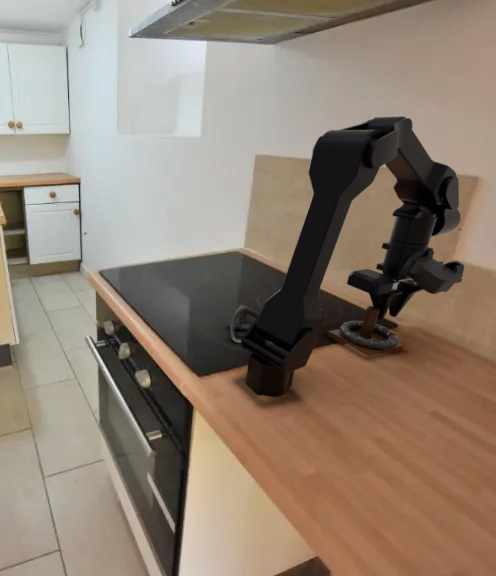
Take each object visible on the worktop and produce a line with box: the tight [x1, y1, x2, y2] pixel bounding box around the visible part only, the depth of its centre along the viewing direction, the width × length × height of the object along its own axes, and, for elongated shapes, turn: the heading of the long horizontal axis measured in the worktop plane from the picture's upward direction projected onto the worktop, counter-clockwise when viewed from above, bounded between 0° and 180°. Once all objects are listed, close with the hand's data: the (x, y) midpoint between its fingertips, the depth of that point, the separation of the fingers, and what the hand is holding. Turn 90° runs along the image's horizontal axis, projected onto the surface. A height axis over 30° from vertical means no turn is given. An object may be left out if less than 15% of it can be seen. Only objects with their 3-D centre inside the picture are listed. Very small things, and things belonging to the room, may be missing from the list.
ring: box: [338, 320, 400, 350], centre depth 74 cm, size 10×10×2 cm
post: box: [327, 305, 405, 356], centre depth 74 cm, size 9×9×8 cm
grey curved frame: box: [229, 304, 273, 344], centre depth 78 cm, size 10×7×12 cm
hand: (386, 317), depth 74 cm, fingers open, 3 cm apart
